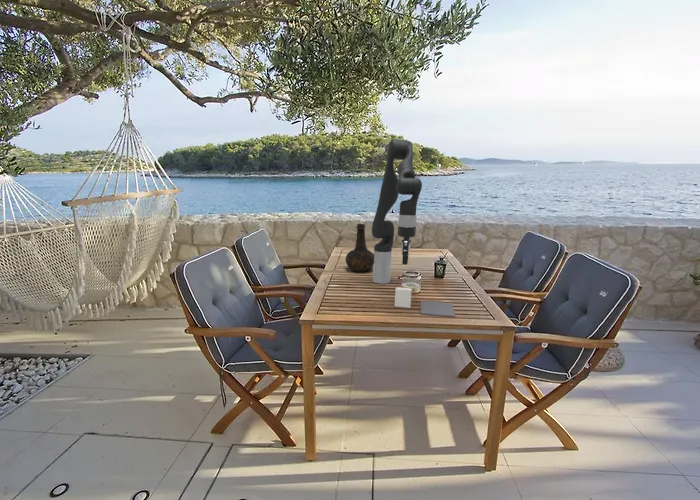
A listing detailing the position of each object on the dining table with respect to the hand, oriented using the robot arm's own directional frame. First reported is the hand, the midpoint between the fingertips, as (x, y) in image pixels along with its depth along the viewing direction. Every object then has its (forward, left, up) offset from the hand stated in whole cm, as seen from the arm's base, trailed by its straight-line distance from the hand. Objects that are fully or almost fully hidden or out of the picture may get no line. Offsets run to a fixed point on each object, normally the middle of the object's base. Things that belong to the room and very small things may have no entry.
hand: (405, 262), depth 170 cm
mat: (+15, -1, -20) cm, 25 cm away
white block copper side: (0, 0, -20) cm, 20 cm away
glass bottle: (-28, +58, -20) cm, 68 cm away
